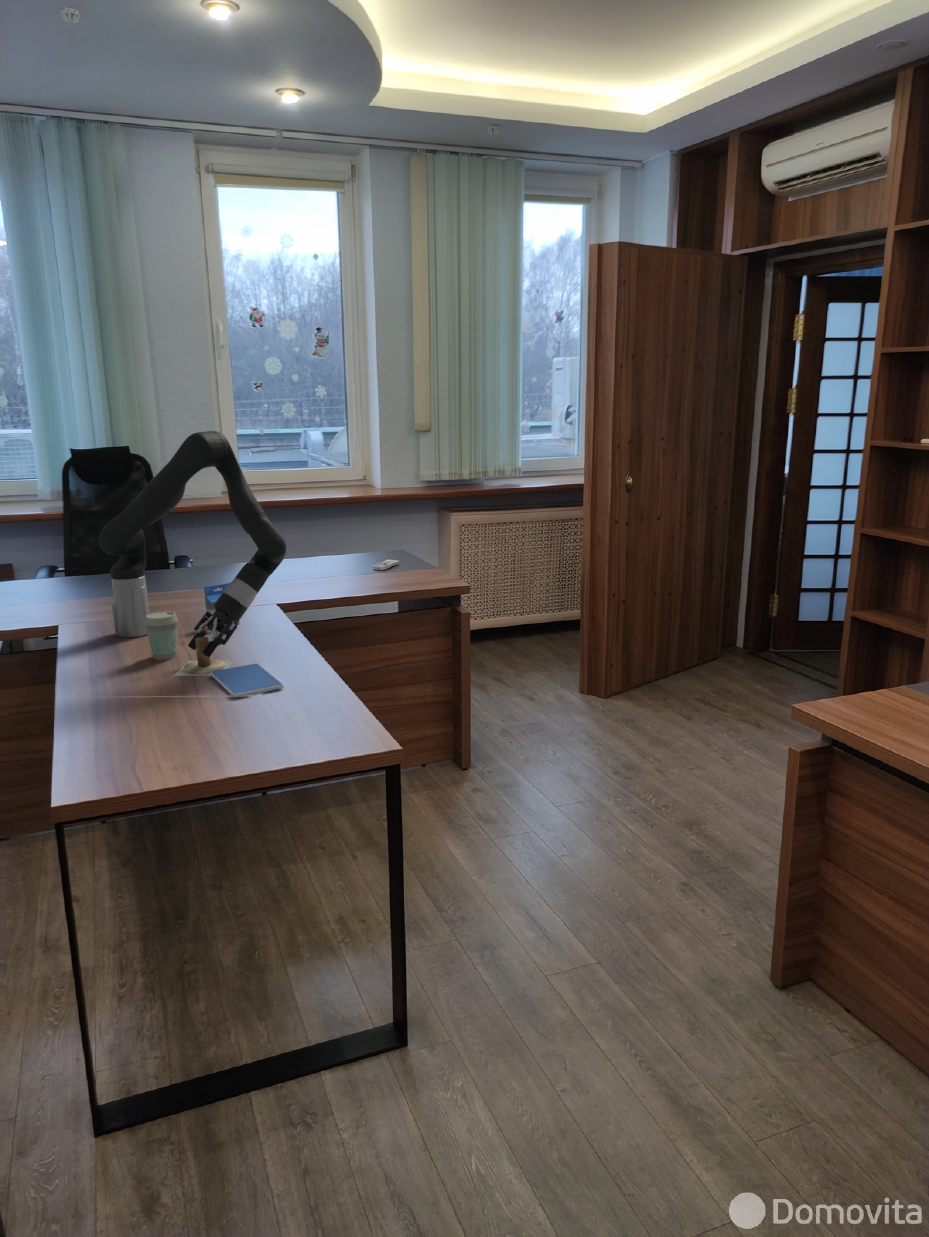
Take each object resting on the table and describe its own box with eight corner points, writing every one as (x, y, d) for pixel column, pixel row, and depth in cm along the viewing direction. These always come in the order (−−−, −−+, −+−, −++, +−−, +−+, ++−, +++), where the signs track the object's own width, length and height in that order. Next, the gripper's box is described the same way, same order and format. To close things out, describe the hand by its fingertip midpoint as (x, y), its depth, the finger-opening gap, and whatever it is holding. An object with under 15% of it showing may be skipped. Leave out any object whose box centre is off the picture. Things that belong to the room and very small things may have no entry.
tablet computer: (209, 675, 219) (208, 670, 218) (258, 666, 225) (257, 661, 225) (233, 700, 203) (233, 694, 203) (285, 689, 209) (285, 684, 209)
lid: (178, 674, 221) (175, 644, 218) (192, 662, 230) (189, 633, 228) (217, 674, 220) (214, 644, 218) (229, 661, 230) (227, 633, 228)
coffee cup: (171, 663, 231) (166, 619, 227) (142, 662, 232) (136, 618, 229) (188, 653, 239) (183, 611, 236) (159, 652, 240) (154, 610, 237)
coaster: (173, 677, 220) (173, 675, 220) (189, 662, 231) (189, 660, 231) (220, 676, 219) (220, 675, 219) (234, 662, 231) (234, 660, 231)
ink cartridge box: (212, 629, 262) (208, 589, 259) (207, 627, 265) (203, 587, 262) (240, 624, 267) (236, 584, 264) (234, 621, 270) (230, 582, 267)
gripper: (212, 587, 230) (175, 638, 226) (238, 596, 220) (199, 649, 215) (233, 603, 235) (196, 653, 231) (259, 613, 224) (221, 665, 220)
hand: (198, 651), depth 223 cm, fingers open, 8 cm apart
